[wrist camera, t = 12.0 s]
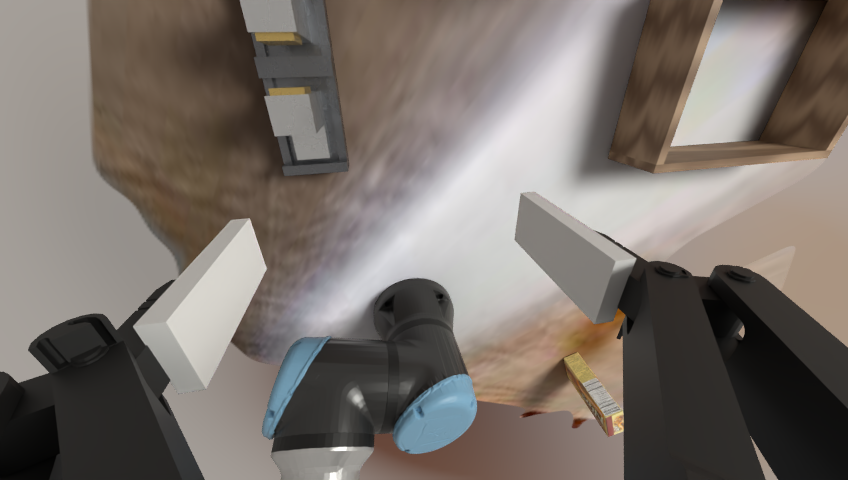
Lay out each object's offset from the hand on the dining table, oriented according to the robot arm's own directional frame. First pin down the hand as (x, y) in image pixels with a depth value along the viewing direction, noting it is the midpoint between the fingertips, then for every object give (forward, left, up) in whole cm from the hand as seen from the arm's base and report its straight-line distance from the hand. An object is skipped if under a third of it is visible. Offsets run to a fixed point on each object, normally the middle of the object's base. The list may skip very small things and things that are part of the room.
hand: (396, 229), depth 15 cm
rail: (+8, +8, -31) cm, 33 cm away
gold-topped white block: (+2, +8, -29) cm, 30 cm away
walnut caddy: (+5, -54, -31) cm, 62 cm away
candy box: (-59, -44, -31) cm, 80 cm away
